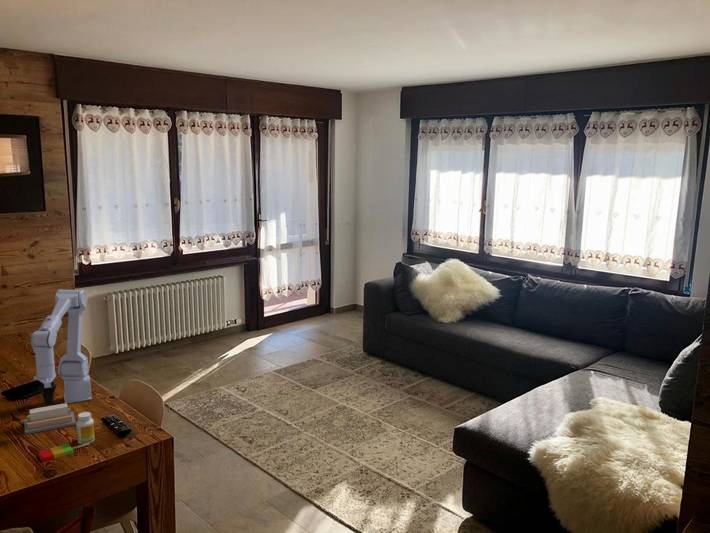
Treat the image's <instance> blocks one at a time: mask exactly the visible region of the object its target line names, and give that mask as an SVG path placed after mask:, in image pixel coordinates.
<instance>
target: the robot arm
mask: <svg viewBox="0 0 710 533" xmlns="http://www.w3.org/2000/svg"><path fill="white" fill-rule="evenodd" d="M54 296H55V297H54V300H55V305H54V307H53V310H52V312H51V315H47V316H46V317H45V318H44V320H43V322H42V324H41V325H40V327H39V328H38V330H36V331H33V333H32V335H31V336H30V345H31V347H32V351H33V353H34V355H35V363H36V364H35V366H36V375H34V376H33V381H36V380H37V381H38V382H39V384H40V385H38V386H37V387H38V390H39V392H40V393H41V395H42V397H43V400H44V401H43V402H44V404H45V405H50V404H53V401H54V400H53V399H54V394H55V391H56V389H57V385H58V384H55V383H54V380H55V378H56V377H57V373H58V375H59V377H60V378H62V380H63V383H64V384H63V385H64V395H63V399H64V404H65V403H67V404H71V403H72V404H73V403H78V402H84V401H89V400H92V391H93V390H92V386H91V377H90V374H89V370H90V369H89V368H90V366H89V365H90V364H89V360H88V359H89V358H88V357H87V356H86V355H85V354H83V353H82V352H81V350H82V346H81V345H82V331H83V330H82V328H83V312H85V311H86V310H87V306H88V294H87V292H86V290H84V289H62V288H61V289H58V290H56V293H55V295H54ZM66 312H67V314H68V319H67V320H68V321H67V322H68V323H67V337H66V338H67V339H66V340H67V342H66V343H67V344H66V353H65V354H63V356H61V357H60V359H59V363H58V368H57V373H56V367H55V353H54V346H55V345H56V341H57V336H58V332H59V330H60V328H61V326H62V325H63V321H62V318H63V317H64V316H65V314H66ZM53 383H54V384H53Z"/></svg>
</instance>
